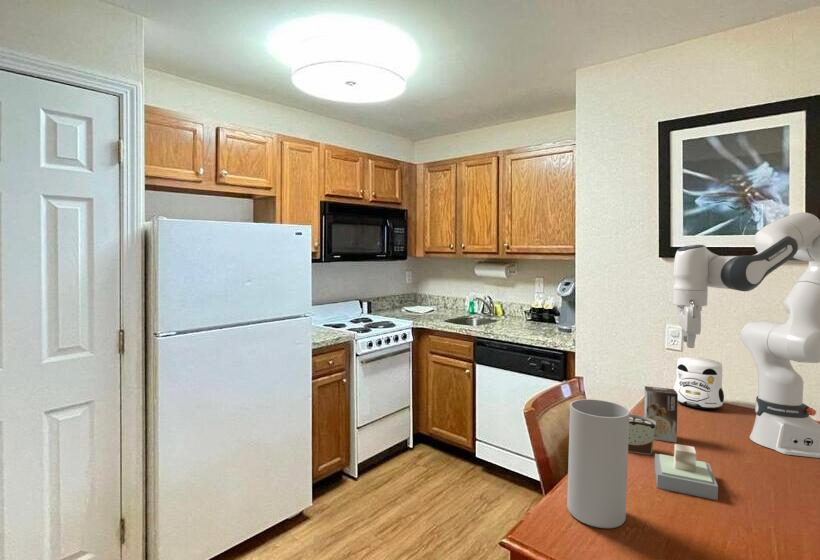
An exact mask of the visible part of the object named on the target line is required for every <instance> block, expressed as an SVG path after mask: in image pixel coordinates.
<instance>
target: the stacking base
mask: <svg viewBox="0 0 820 560" xmlns="http://www.w3.org/2000/svg"><path fill="white" fill-rule="evenodd" d="M654 473H655V482H656V488H657V489H660V490H665V491H671V492H675V493H679V494H684V495H690V496H696V497H698V498H699V497H700V498H704V499H709V500H713V501H718V495H719V485H718V483H717V479H716V478H715V475H714V472H713V470H712V467H711V464H710V463H709V462H705V461H701V460H696V470H695V472H691V471H685V470H680V469H675V465H674V455H668V454H662V453H654Z"/></svg>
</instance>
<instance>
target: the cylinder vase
mask: <svg viewBox="0 0 820 560" xmlns="http://www.w3.org/2000/svg"><path fill="white" fill-rule="evenodd" d="M629 414H630V410H629V409H628V408H627V407H626V406H623V405H621V404H619V403H616V402H612V401H608V400H602V399H594V398H591V399H590V398H589V399H588V398H584V399H581V398H580V399H576V400H572V401H571V402H570V404H569V430H568V431H569V433H568V462H567V463H568V464H567V465H568V467H567V468H568V469H567V500H566V501H567V503H566V506H567V509H568V511H569V513H570V514H571V516H572V517H574V518H575V519H576V520H578V521H579V522H581V523H583V524H586V525H587V526H590V527H593V528H594V527H595V528H598V529H599V528H600V529H614V528H618V527H621V526H622V525H623V524H624V523H625V521H626V517H627V490H628V489H627V487H628V466H629V465H628V463H629V452H628V438H629Z"/></svg>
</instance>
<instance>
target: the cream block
mask: <svg viewBox="0 0 820 560" xmlns="http://www.w3.org/2000/svg"><path fill="white" fill-rule="evenodd" d="M673 447H674V448H673V449H674V450H673V456H674V465H675V469H680V470H685V471H691V472H695V470H696V461H697V452H696V449H695V446H692V445H691V446H690V445H684V444H678V443H674V446H673Z"/></svg>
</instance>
